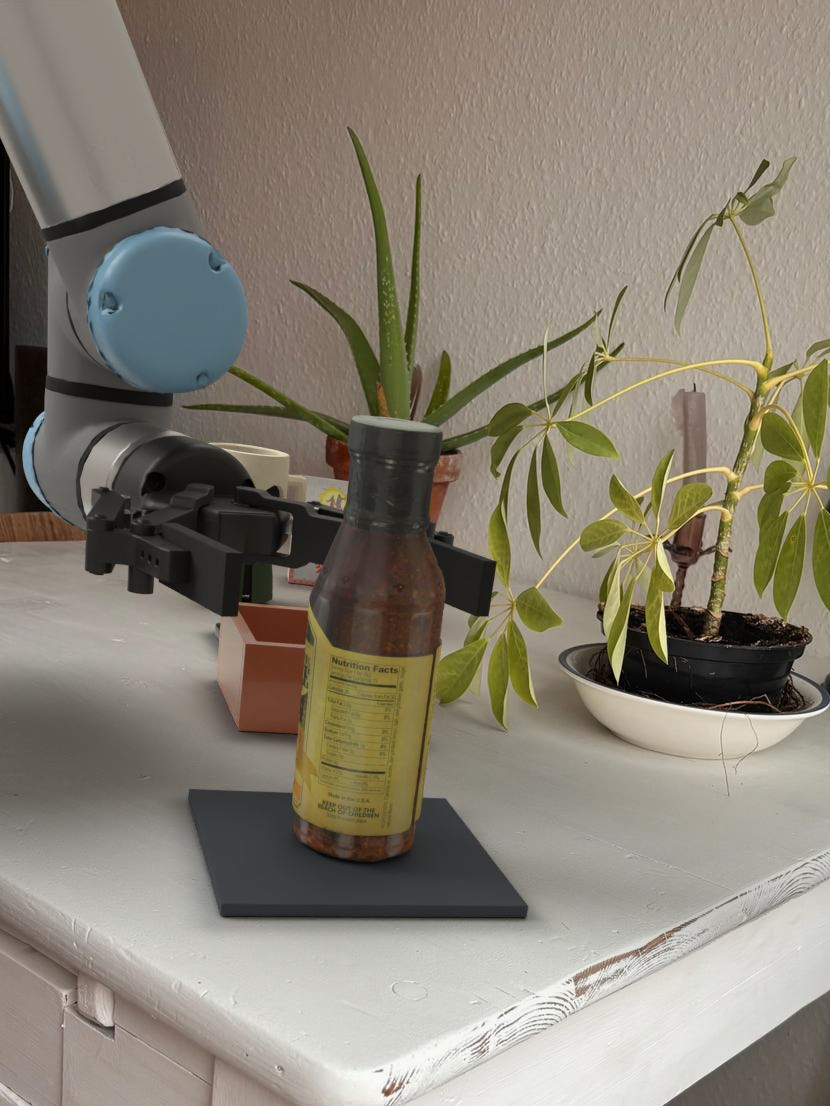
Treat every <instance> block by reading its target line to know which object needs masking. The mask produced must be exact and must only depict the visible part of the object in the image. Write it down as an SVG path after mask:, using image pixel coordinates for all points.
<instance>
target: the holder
mask: <svg viewBox="0 0 830 1106" xmlns="http://www.w3.org/2000/svg"><path fill="white" fill-rule="evenodd" d="M307 617H308V607H301V606H299V607H298V606H290V605H289V606H288V605H276V604H265V603H251V602H243V601H241V602H239V608H238V617H221V616H220V622H221V623H220V636H219V639H218V651H217V652H218V653H217V664H216V676H215V677H216V678H215V679H216V681H217V684H218V686H219V688H220V691H221V694H222V695H223V698H224V701H225V702H226V705H227V707H228V709H229V712H230V714H231V716H232V719H233V721H234V723H235V726H236V728H237V730H238V731H239V732H256V733H275V734H292V735H298V727H299V710H300V701H301V696H302V695H301V692H302V681H303V670H304V657H305V643H306V633H307Z"/></svg>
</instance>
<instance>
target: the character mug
mask: <svg viewBox="0 0 830 1106" xmlns="http://www.w3.org/2000/svg"><path fill="white" fill-rule="evenodd" d="M207 443H208V444H211V445H214V446H217V447H219V448H222V449H224V450H225V451H227V452H229V453H230V454H232V455H233V456H234V457H235V458H236V459H237V460H239V461H240V463H241V464H242V465H243V466H244V467H245V469H246V470H247V472H248V473H249V475H250V477H251V479H252V481H253V483H254V485H255V487H256V489H261V490H265V491H267V492H268V493H269V494H270V495H271V496H273V497H279V498H284V499H288V487H294V488H295V492H294V493H295V494H294V500H295V501H300V502H305V500H306V490H307V481H306V478H305V477H303V476H299V475H300V474H289V473H290V465H291V464H290V463H291V460H290V459H291V457H290V454H289V453H286V452H283V451H280V450H278V449H277V450H276V449H272V448H267V447H261V446H256V445H250V444H243V443H235V442H234V443H233V442H207ZM289 514H290V515H292V514H291V513H289ZM273 580H274V576H273V565H271V564H266V563H261V562H260V563H256V564H253V565H247V564H242V570H241V583H240V595H239V602H243V601H242V599H243V596H248V601H249V603H254V604H265V603H268V602H271V601H273V596H274V595H273V593H274V591H273V589H274V581H273Z"/></svg>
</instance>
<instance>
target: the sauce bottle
mask: <svg viewBox="0 0 830 1106" xmlns="http://www.w3.org/2000/svg"><path fill="white" fill-rule="evenodd" d="M443 438H444V431H443V429H442V428H440V427H438V426H435V425H433V424H429V423H426V422H421V421H414V420H409V419H402V418H399V417H398V418H397V417H391V416H389V417H388V416H387V417H386V416H375V415H366V414H365V415H363V414H361V415H354V416H352V417H351V419H350V423H349V430H348V434H347V442H346V443H347V444H346V445H347V450H348V455H349V456H350V457H349V460H350V461H349V469H348V470H349V471H348V480H347V481H348V492H347V501H346V505H345V507H344V509H343V514H344V519H343V521H342V523H341V525H340V528H339V530H338V532H337V534H336V536H335V539H334V541H333V543H332V545H331V548H330V550H329V552H328V555H327V557H326V559H325V562H324V564H323V566H322V568H321V571H320V573H319V575H318V578H317V580H316V582H315V584H314V586H313V587H312V589H311V591H310V593H309V597H308V607H307V608H308V617H307V633H306V643H305V657H304V670H303V681H302V692H301V695H302V696H301V701H300V710H299V727H298V734H297V739H296V749H295V762H294V775H293V787H292V793H293V798H292V804H293V807H294V823H293V824H294V832H295V833H296V835H297V839H298V840H299V841H300V842H301V843H302V844H305V845H307V846H309V847H310V848H312V849H314V850H316V851H317V852H320V853H323V854H327V855H329V856H332V857H338V858H340V859H347V860H351V861H356V862H376V861H380V860H384V859H388V858H391V857H396V856H400V855H402V854H404V853H406V852H408V851H409V849H410V848H411V847H412V845H413V841H414V834H415V828H416V826H415V822H416V821H417V820H418V819H419V817H420V812H421V806H422V799H423V798H424V789H425V782H426V775H427V769H428V759H429V750H430V743H431V734H432V728H433V727H432V726H433V719H434V710H435V702H436V694H437V687H438V679H439V671H440V663H441V662H440V661H441V655H442V646H443V640H442V638H441V634H442V625H443V621H444V620H443V618H444V610H445V605H446V604H445V592H446V588H445V583H444V578H443V575H442V571H441V570H440V568H439V566H438V561H437V559H436V557H435V555H434V553H433V550H432V547H431V544H430V542H429V541H428V539H427V533H426V530H427V529H428V527H429V524H430V521H432V518H431V515H430V511H431V506H432V505H431V503H432V495H433V494H432V492H433V487H434V486H433V485H434V477H435V470H436V467H437V466H438V464H439V462H440V457H441V452H442V447H443Z"/></svg>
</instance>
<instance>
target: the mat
mask: <svg viewBox="0 0 830 1106" xmlns="http://www.w3.org/2000/svg"><path fill="white" fill-rule="evenodd" d="M292 798H293V792H284V791H283V792H281V791H257V790H231V789H229V790H228V789H227V790H226V789H201V788H198V789H197V788H189V789H188V804H189V807H190V810H191V814H192V818H193V821H194V825H195V829H196V832H197V835H198V839H199V843H200V847H201V850H202V854H203V857H204V861H205V865H206V868H207V872H208V875H209V879H210V882H211V886H212V890H213V893H214V897H215V900H216V905H217V908H218V911H219V915H220V916H221V917H355V918H356V917H358V918H359V917H366V918H367V917H368V918H369V917H372V918H373V917H377V918H378V917H379V918H380V917H381V918H383V917H384V918H389V917H390V918H392V917H394V918H395V917H396V918H405V917H406V918H410V917H411V918H527V917H528V911H529V905H528V904H527V902H526V901H525V900H524V899H523V897H522V895H520V893H519V892H518V890H517V889H516V888H515V886H514V885H513V884H512V883H511V881H510V880H509V879H508V877H507V876H506V875H505V874H504V872H503V871H502V870H501V868H500V867H499V866H498V865H497V863H496V861H494V859H493V858H492V857H491V856H490V854H489V853H488V852H487V851H486V849H485V848H484V846H483V845H482V844H481V842H480V841H479V840H478V838H477V837H476V836H475V835H474V833H473V832H472V831H471V830H470V828H469V827H468V825H467V824H466V822H465V821H464V820H463V819H462V818H461V816H460V815H459V814H458V812H457V811H456V810H455V808H454V807H453V806H452V805H451V803H450V802H449V801H448V799H447V798H445V797H423V799H422V806H421V812H420V817H419V819H418V820H417V821H416V822H415V826H416V828H415V834H414V841H413V845H412V847H411V848H410V849H409V851H408V852H406V853H404V854H402V855H400V856H396V857H391V858H388V859H384V860H380V861H376V862H356V861H351V860H347V859H340V858H338V857H332V856H329V855H327V854H323V853H320V852H317V851H316V850H314V849H312V848H310V847H309V846H307V845H305V844H302V843H301V842H300V841H299V840H298V839H297V835H296V833H295V832H294V824H293V823H294V807H293V804H292Z"/></svg>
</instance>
